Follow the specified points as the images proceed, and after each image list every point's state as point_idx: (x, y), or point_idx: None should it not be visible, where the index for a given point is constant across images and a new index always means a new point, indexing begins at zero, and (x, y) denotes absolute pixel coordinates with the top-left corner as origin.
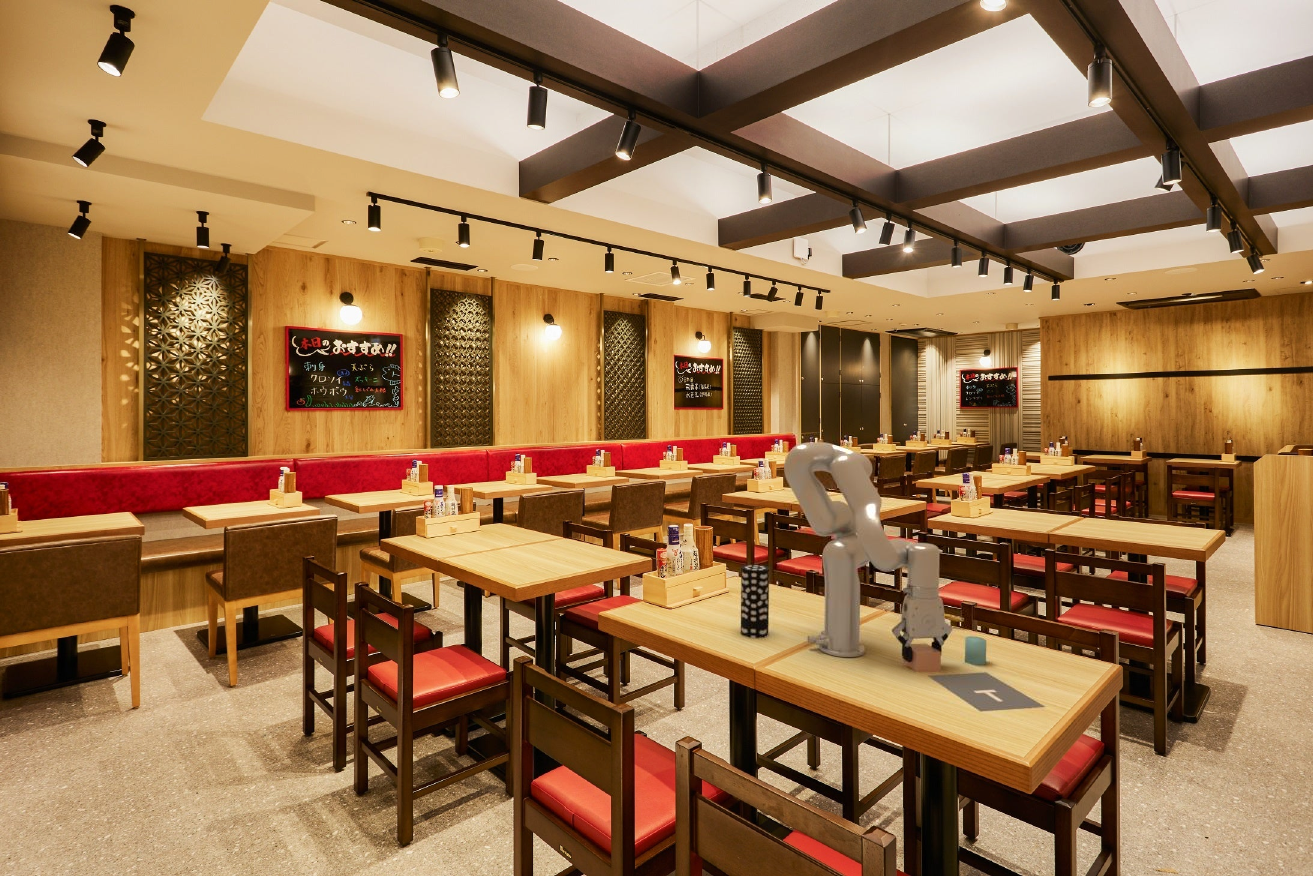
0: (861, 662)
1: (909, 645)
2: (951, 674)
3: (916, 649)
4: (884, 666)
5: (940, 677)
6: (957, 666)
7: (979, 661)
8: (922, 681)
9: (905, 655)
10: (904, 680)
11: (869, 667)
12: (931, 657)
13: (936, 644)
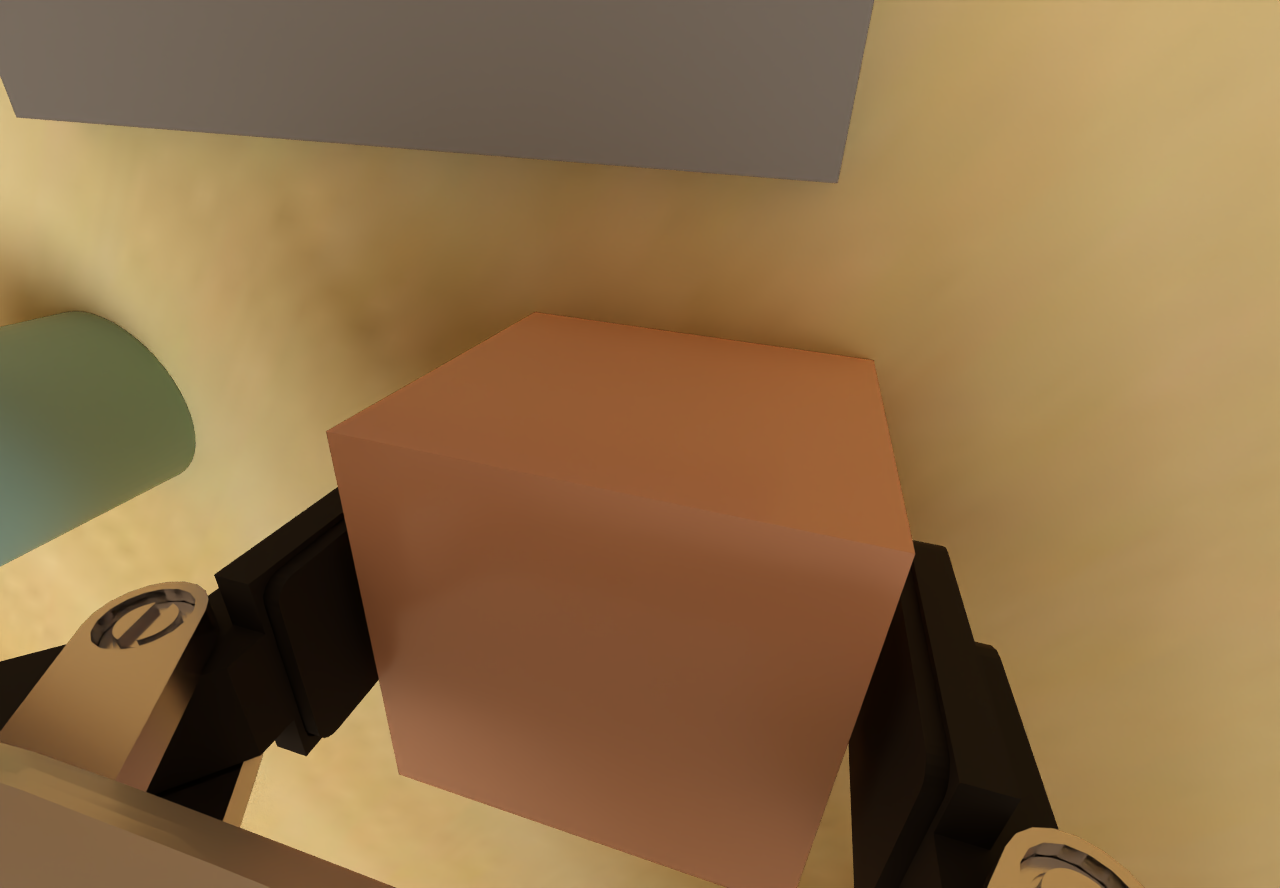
0: (1203, 860)
1: (1011, 858)
2: (440, 144)
3: (737, 702)
4: (1033, 701)
5: (674, 60)
6: (268, 437)
7: (5, 339)
8: (976, 138)
9: (999, 673)
10: (1263, 253)
11: (1272, 755)
12: (572, 425)
13: (276, 653)
